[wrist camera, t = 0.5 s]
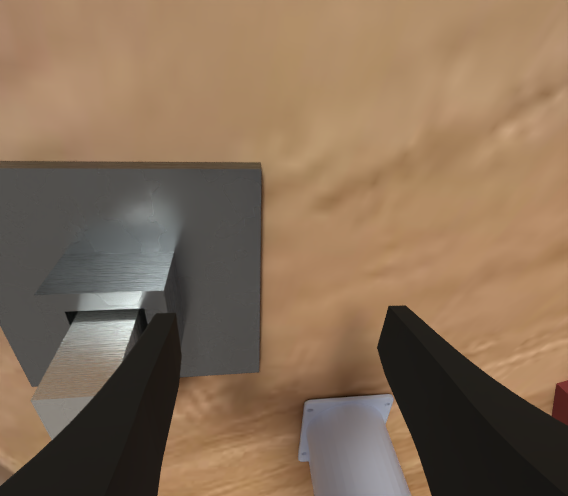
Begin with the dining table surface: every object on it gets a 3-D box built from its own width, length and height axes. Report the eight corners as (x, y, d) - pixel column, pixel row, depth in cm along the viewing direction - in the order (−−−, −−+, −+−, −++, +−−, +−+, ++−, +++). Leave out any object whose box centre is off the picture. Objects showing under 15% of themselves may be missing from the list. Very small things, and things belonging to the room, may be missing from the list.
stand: (258, 361, 28) (261, 415, 24) (38, 375, 26) (5, 435, 22) (260, 162, 19) (266, 197, 16) (-67, 160, 18) (-149, 199, 14)
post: (158, 314, 23) (126, 437, 16) (107, 316, 22) (52, 443, 16) (151, 275, 21) (111, 394, 14) (95, 277, 21) (28, 399, 14)
